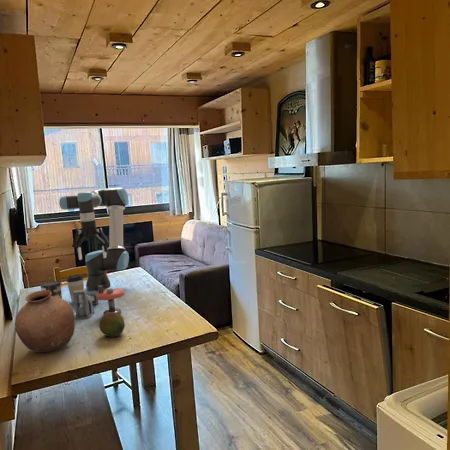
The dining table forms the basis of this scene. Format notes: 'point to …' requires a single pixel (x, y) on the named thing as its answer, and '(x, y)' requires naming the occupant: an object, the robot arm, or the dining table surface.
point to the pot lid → (108, 293)
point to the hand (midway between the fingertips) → (92, 258)
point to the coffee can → (52, 288)
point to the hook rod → (92, 298)
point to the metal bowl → (112, 307)
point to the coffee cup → (75, 285)
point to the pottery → (45, 322)
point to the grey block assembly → (82, 305)
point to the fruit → (112, 324)
